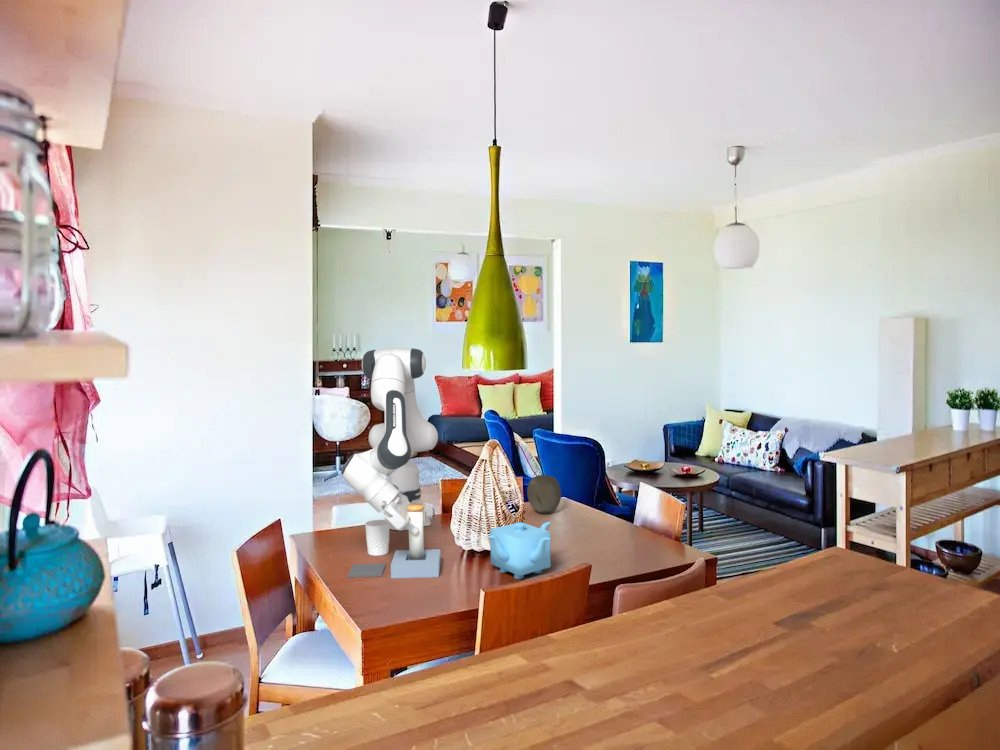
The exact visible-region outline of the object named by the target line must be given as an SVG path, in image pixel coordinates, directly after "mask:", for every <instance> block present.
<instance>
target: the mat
mask: <svg viewBox="0 0 1000 750" xmlns="http://www.w3.org/2000/svg"><path fill="white" fill-rule="evenodd" d="M386 565H387V563H383V562H382V563H355V564H352V566H351V568H350V570H349V572H348V574H347V578H370V577H371V578H372V577H374V578H376V577H377V578H379V577H382V576H383V574H384V571H385V568H386Z"/></svg>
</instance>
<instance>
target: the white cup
mask: <svg viewBox="0 0 1000 750" xmlns="http://www.w3.org/2000/svg"><path fill="white" fill-rule="evenodd" d="M389 524H390V522H389V521H387V520H385V519H374V520H373V519H372V520H369V521H367V522H365V524H364V525H365V538H366V547H367V554H368V555H370V556H373V557H374V556H375V557H376V556H378V557H379V556H384V555H386V554H388V553H389V548H390V547H389V545H390V529H389Z"/></svg>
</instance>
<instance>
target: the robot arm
mask: <svg viewBox="0 0 1000 750" xmlns="http://www.w3.org/2000/svg"><path fill="white" fill-rule="evenodd" d="M426 367H427V360H426V357H425V355H424V352H423V350H421V349H419V348H413V347H412V348H405V347H404V348H403V347H394V348H383V349H371V350H367V351H366V352H365V353H364V355H363V357H362V360H361V370H362V372H363V375H364V377H366V378H367V379H369V380H371V384H370V399H371V403H372V405H373V406H374V407H375V408H376V409H377V410H380V411H383V412H384V422H383V423H378V424H374V425H373V426H372V427H371V429H370V430H369V433H368V443H369V445H370V447H371V448H372V449H369V450H366V451H363V452H360V453H359V452H358V453H353V454H352V455H350V456H349V458H348V459H347V461H345V463H344V464H343V466H342V468H341V472H340V474H341V477H342V478H343V479H344V481H345V482H346V483H347V484H348V485H349V486H350V487H351V489H352V490H354V491H355V492H356V493H357V494H358V495H361V496H362V498H364V500H365V501H366V502H367V503H368V504H369V506H371V507H372V509H374V510H375V511H376V512H377V513H381V512H382V514H383V517H384V520H387V521H389V522H390V524H389V530H393V531H394V530H395V531H398V532H399V531H409V530H410V531H412V532H413V533H414V534H416V533H417V532H418V531H419V528H418V527H417V526H416V525H414V524H412V523H411V521H410V520H409V518H410V515H409V513H408V510H407V505H409V504H423V505H424V510H423V527H428V526H430V525H432V523H431V520H430V519H429V517H428V515H427V512H426V511H425V507H426V506H425V502H424V501H423V500H422V499H421V495H422V491H421V487H420V470H419V469H420V468H419V467H418V465H417V464H416V463H414V462H413V461H411V460H410V458H411V456H412V452H413V453H419V452H420V453H421V452H425V451H430V450H433V449H434V448H435V447H436V445H437V444H438V440H439V434H438V433H439V432H438V430H437V428H436V427H435V425H433V423H431V422H429V421H428V420H427V419H426V418H425V417H424V416H423V415H422V413H421V412H420V411H419V408H418V404H417V403H418V402H417V396H416V387H415V385H416V384H415V379H418V378H421V377H422V376H423V375H424V373H425V371H426ZM387 477H388V479H387Z"/></svg>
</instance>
